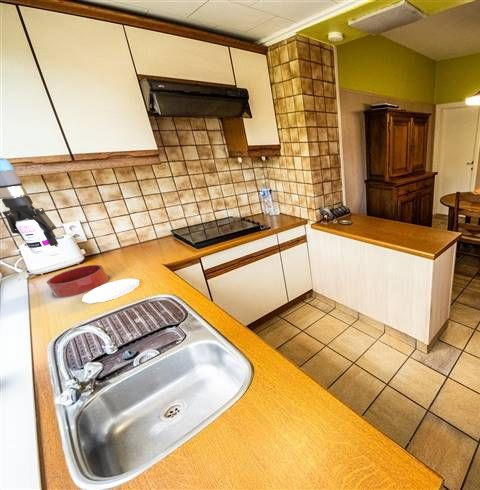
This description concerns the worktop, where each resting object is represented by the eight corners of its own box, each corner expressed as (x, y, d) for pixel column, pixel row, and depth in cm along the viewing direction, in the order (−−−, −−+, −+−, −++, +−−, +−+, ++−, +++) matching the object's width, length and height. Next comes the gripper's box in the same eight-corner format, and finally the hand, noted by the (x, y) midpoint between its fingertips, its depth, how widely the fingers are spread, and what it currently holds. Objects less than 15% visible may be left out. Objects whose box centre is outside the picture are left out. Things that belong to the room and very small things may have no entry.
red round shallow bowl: (42, 299, 126) (34, 286, 123) (77, 278, 144) (71, 267, 141) (87, 294, 128) (80, 282, 125) (117, 274, 146) (111, 263, 143)
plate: (149, 279, 139) (148, 276, 139) (122, 302, 120) (120, 299, 120) (105, 284, 137) (104, 281, 136) (70, 308, 118) (68, 305, 117)
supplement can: (58, 245, 127) (41, 215, 121) (59, 249, 122) (42, 218, 116) (33, 251, 121) (14, 220, 115) (33, 255, 116) (13, 223, 110)
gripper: (51, 192, 116) (76, 240, 125) (-3, 196, 114) (27, 244, 123) (33, 196, 109) (61, 247, 118) (-25, 200, 107) (9, 251, 116)
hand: (44, 245), depth 120 cm, fingers closed on supplement can, 8 cm apart
